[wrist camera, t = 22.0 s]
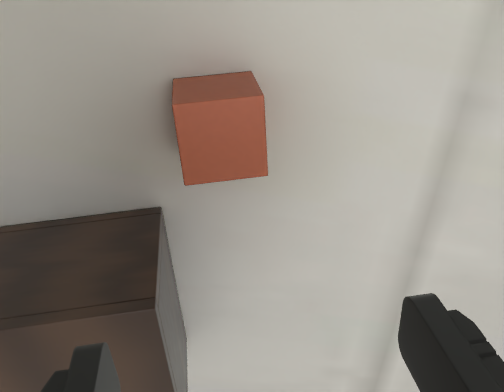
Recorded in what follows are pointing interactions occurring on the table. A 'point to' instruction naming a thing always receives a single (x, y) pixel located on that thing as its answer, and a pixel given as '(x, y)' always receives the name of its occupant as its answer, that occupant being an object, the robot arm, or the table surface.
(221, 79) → the block
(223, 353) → the table surface
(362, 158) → the table surface
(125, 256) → the box
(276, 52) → the table surface
